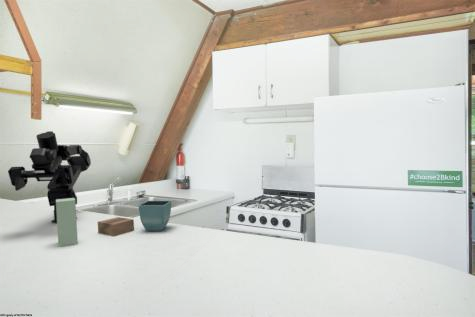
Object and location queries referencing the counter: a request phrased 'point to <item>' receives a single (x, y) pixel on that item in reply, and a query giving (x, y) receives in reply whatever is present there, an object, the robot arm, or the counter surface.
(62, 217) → the sage pillar
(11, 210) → the counter surface
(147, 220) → the flower pot
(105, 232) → the walnut block
